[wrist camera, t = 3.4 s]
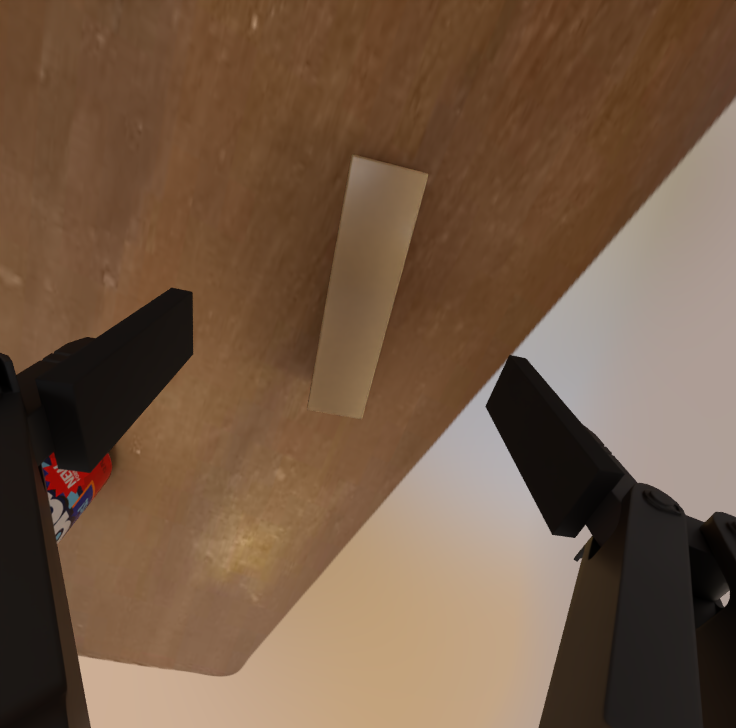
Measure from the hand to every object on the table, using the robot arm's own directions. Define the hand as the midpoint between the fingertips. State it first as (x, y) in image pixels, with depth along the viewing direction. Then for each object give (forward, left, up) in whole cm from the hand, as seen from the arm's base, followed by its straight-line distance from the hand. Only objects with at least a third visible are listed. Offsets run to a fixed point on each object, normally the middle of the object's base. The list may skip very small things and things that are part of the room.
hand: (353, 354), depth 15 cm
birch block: (0, 0, -8) cm, 8 cm away
